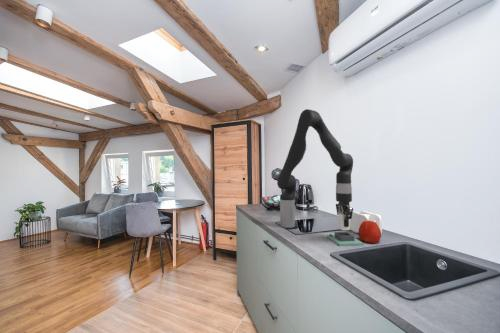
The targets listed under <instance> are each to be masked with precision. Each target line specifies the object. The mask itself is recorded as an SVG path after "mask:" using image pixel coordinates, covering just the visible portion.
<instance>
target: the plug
mask: <svg viewBox="0 0 500 333" xmlns="http://www.w3.org/2000/svg"><path fill="white" fill-rule="evenodd" d="M344 213H346V212H344ZM337 216H338V229H339V230H341V231H350V230H351V229H350V219H349V227H344V215H343V214H342V213H338V215H337ZM349 216H350V215H349Z"/></svg>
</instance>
